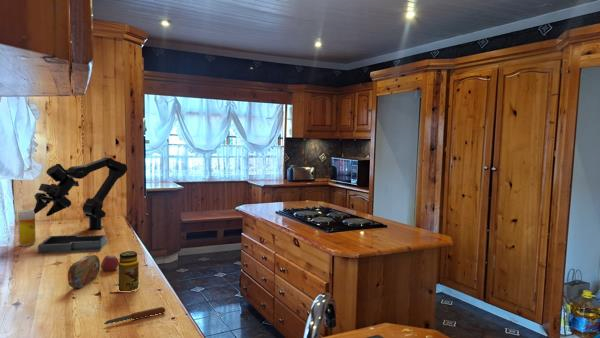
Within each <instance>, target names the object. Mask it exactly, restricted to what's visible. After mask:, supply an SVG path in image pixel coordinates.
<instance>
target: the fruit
mask: <svg viewBox="0 0 600 338" xmlns="http://www.w3.org/2000/svg"><path fill="white" fill-rule="evenodd" d="M119 261H120V258H118V257H117V256H116V255H114V254H108V255H105V256H104V257H103V259H102V261H101V263H100V269H101V270H102V271H103V272H107V273H108V272H114V271H116V269H117V268H119Z"/></svg>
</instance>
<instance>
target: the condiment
mask: <svg viewBox="0 0 600 338" xmlns="http://www.w3.org/2000/svg"><path fill="white" fill-rule="evenodd" d="M118 261H119V264H118V267H117V268H118V283H115V284H114V285H115V286H117V285H118V286H119V290H120V291H132V290H135V289H137V288H138V285H139V283H140V285H142V282H139V276H140V275H139V272H140V270H139V268H140V267H139V260H138V252H136V251H133V250H128V251H123V252H120V254H119V260H118Z"/></svg>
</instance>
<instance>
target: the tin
mask: <svg viewBox="0 0 600 338" xmlns="http://www.w3.org/2000/svg"><path fill="white" fill-rule="evenodd" d="M100 269H101V263H100V259H99V257H98V255H96V254H92V255H91V254H90V255H86V256H84V257H82V258H80V259H79V260H77V261H75V262H73V263H72V264H71V265H70V267H69V269H68V270H67V281H68V285H69V286H70V287H71V288H72V289H73V288H78V289H81V288H84V287H85V286H86V285H88V284H90V283H91V282H92V281H93V280H95V279H97V277H98V275H99V272H100ZM83 286H84V287H83Z"/></svg>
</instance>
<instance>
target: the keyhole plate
mask: <svg viewBox="0 0 600 338" xmlns="http://www.w3.org/2000/svg"><path fill="white" fill-rule="evenodd" d="M107 242H108V240H107V236H106V234H101V235H100V234H98V235H81V234H71V235H70V234H68V235H49V236H48V237H47V238H46V239H44V240H43V241H41V243H39V244H38V245H37V254H38V255H47V254H49V255H50V254H63V253H67V254H68V253H86V252H101V251H102V249H103V248H104V246H105V245H106V243H107Z"/></svg>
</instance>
